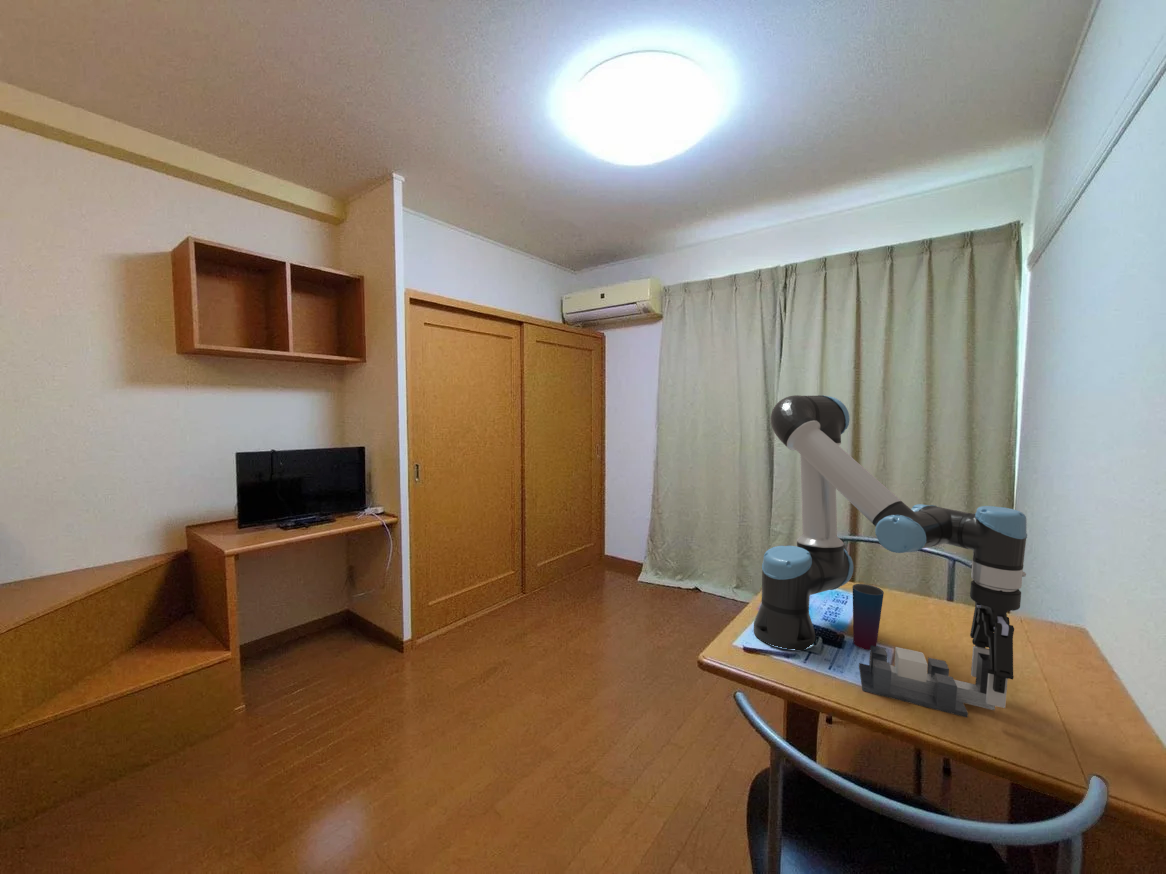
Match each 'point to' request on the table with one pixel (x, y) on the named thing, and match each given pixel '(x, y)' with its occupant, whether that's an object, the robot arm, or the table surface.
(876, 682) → the rail
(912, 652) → the block
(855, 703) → the table surface
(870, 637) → the cup
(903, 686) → the sliding bolt
